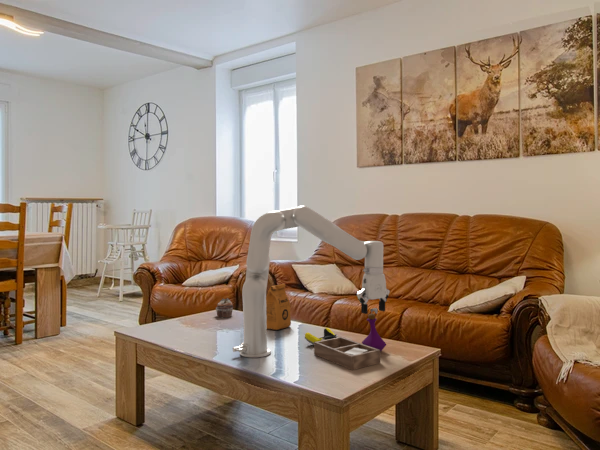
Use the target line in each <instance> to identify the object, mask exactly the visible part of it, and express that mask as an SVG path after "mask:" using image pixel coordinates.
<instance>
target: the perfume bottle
mask: <svg viewBox="0 0 600 450" xmlns="http://www.w3.org/2000/svg"><path fill="white" fill-rule="evenodd" d="M369 310H370V313H369V314H367V317H368V318H367V319H366V321H367V322H368V323H369V325H370V332H369V334H368V335H367V336H366V337H365V338H364V339H363V340H362V342H361V344H364V345H367V346H370V347H373V348H376V349H379V350H380V353H381V352H382V351H383V350H384V348H385V347H386V346H387V343H386V342H385V341H384V340H383V338H382V337H381V336H380V334H379V333H378V331H377V328H376V321H377V320H378V319H377V318H376V315H377V314H378V311H379V308H376V307H374V308H370V309H369ZM373 312H374V313H375V314H374V313H373Z"/></svg>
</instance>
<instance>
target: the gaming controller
mask: <svg viewBox="0 0 600 450" xmlns="http://www.w3.org/2000/svg"><path fill="white" fill-rule="evenodd" d="M338 337H339V335H338V334H335V333H334V332H333V331H332V330H331V329H330V328H329V327H325V328H324V329H323V336H322V337H317V336H316V335H313V334H311V333H310V332H306V333H305V334H304V339H305V340H306V341H307V342H308V344H309V343H310V344H312V345H314V342H317V341H323V340H328V339H333V338H338Z"/></svg>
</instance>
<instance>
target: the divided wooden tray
mask: <svg viewBox="0 0 600 450" xmlns="http://www.w3.org/2000/svg"><path fill="white" fill-rule="evenodd" d="M353 348H359V349H364V350H368V352H365V353H361V354H356V355H350V354H347V353H345V352H346V351H348V350H351V349H353ZM313 354H314V356H317V357H320V358H322V359H325V360H327V361H329V362H332V363H334V364H337V365H339V366H341V367H342V368H346V369H348V370H351V371H353V370H358V369H362V368H365V367H369V366H370V367H371V366H374V365H378V364H381V352H380V350H379V349H376V348H373V347H370V346H367V345H364V344H362V342H361V343H360V342H357V341H354V340H353V339H352V340H351V339H348V338H346V337H342V336H338V337H337V338H333V339H328V340H323V341H317V342H314V344H313Z"/></svg>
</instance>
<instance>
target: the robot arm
mask: <svg viewBox="0 0 600 450" xmlns="http://www.w3.org/2000/svg"><path fill="white" fill-rule="evenodd" d="M297 227H300V228H302V229H303V230H305V231H307V232H308V233H309V234H311V235H313V236H314V237H316V238H317V239H320V240H321V241H322V242H324V243H326V244H329V245H330V246H332V247H334V248H336V249H337V250H339V251H341V252H342V253H344V254H345V255H347V256H348V257H350V258H352V259H353V260H357V261H359V260H362V259H364V268H363V270H362V271H363V272H364V273H363V277H362V282H361V290H359V291H357V293H356V297H357V300H358V301H359V303H360V304H361V305H360V306H361V309H360V313H362V314H364V315H368V313H369V312H368V309H369V306H368V305H369V304H368V302H369V300H378V299H379V301H378V311H380V312H386V302H387V300H388V298H389V294H390V292H391V290H389V288H387V280H386V276H385V273H384V242H383V241H380V240H379V241H378V240H367V241H364V240H360V239H358V238H356V237H354V236H353V235H351V234H350V233H348V232H347V231H345V230H343V229H342V228H341V227H339V226H338V225H337V224H335V222H332V221H331V220H329V219H328V218H326V217H324V216H323V215H321V214H319V213H318V212H317V211H315V210H313V209H312V208H311V207H309V206H306V205H298V206H295V207H291V208H290V207H289V208H286V209H285V208H284V209H280V210H272V211H268V212H266V213H264V214H262V215H260V216H259V217H258V218H257V219H256V220H255V222H254V223H253V225H252V228H251V232H250V237H249V243H248V251H247V256H246V272H245V281H244V283H243V286H242V292H241V293H242V296H241V297H242V310H243V311H242V317H243V319H242V322H243V323H242V324H243V342H241V344H240V345H239V346H232V352H233V353H235V352H238V353H239V354H240V356H241V357H245V358H252V359H253V358H262V357H263V358H264V357H267V356H269V355H270V354H271V351H272V350H271V348H269V347H268V334H267V333H268V332H267V330H268V329H267V315H266V296H267V288H268V281H269V280H268V279H269V272H270V263H271V259H270V247H271V240H272V236H273V234H274V233H275V232H279V231H282V230H283V231H284V230H287V229H293V228H297Z"/></svg>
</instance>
